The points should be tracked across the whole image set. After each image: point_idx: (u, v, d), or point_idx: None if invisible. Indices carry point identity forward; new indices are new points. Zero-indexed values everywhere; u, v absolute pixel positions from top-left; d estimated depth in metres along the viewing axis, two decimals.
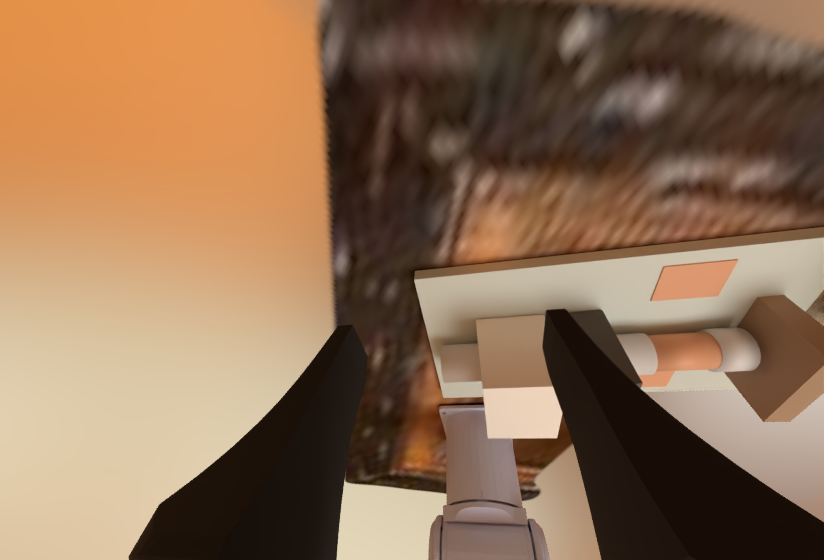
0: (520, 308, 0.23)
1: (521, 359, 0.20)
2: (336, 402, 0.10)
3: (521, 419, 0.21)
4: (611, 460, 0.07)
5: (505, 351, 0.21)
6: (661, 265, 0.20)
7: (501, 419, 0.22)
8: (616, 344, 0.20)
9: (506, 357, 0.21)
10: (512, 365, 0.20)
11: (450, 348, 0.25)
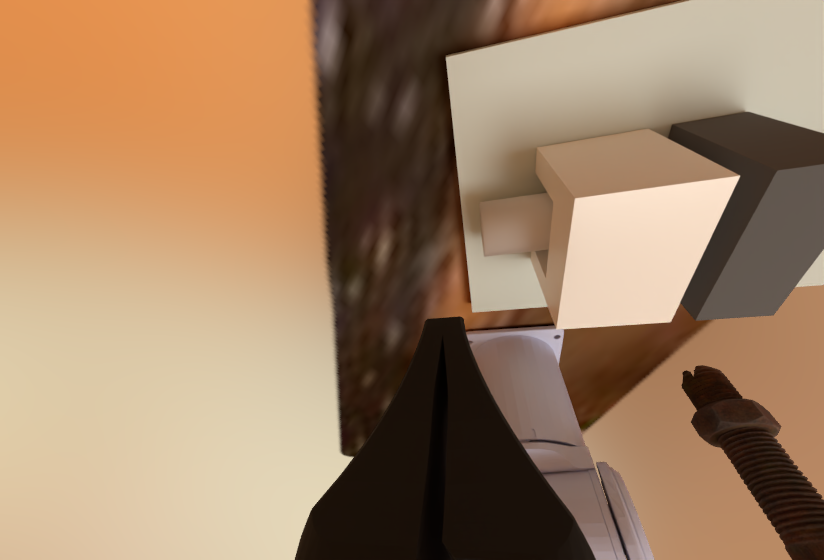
0: (611, 117, 0.14)
1: (632, 165, 0.12)
2: (441, 399, 0.10)
3: (623, 279, 0.13)
4: None
5: (600, 163, 0.13)
6: None
7: (590, 280, 0.13)
8: (801, 130, 0.11)
9: (604, 167, 0.12)
10: (619, 172, 0.12)
11: (495, 200, 0.16)
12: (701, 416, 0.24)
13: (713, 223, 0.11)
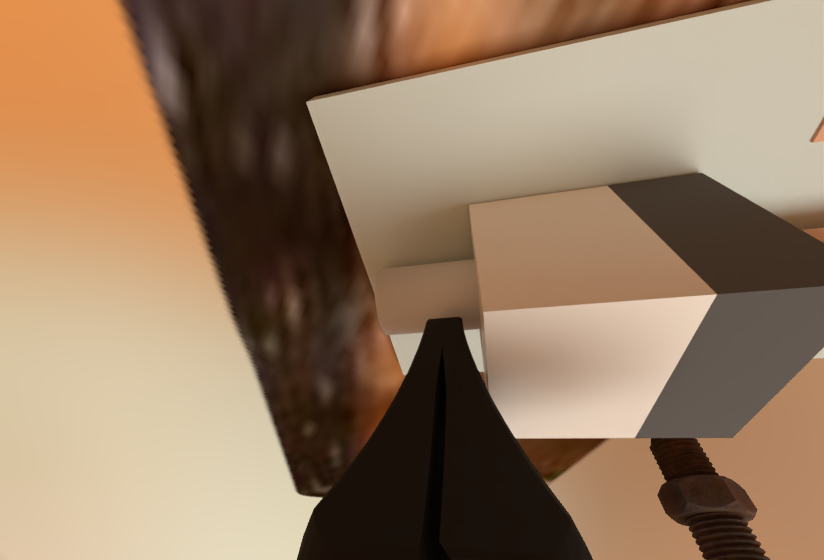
0: (529, 175, 0.11)
1: (573, 252, 0.09)
2: (443, 399, 0.10)
3: (568, 396, 0.10)
4: None
5: (535, 243, 0.09)
6: None
7: (524, 396, 0.10)
8: (762, 215, 0.08)
9: (537, 252, 0.09)
10: (553, 264, 0.08)
11: (396, 269, 0.13)
12: (668, 491, 0.21)
13: (682, 345, 0.08)
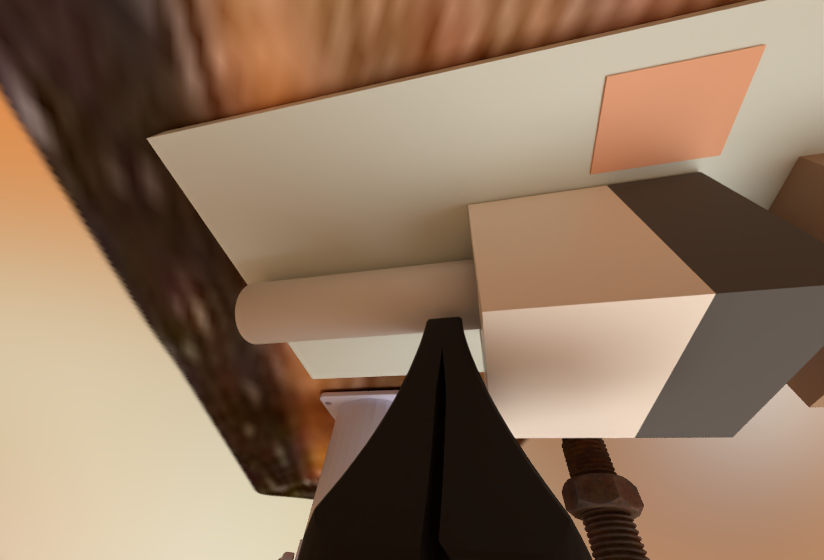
0: (360, 201, 0.13)
1: (572, 252, 0.09)
2: (443, 399, 0.10)
3: (567, 396, 0.10)
4: None
5: (533, 243, 0.09)
6: (600, 72, 0.09)
7: (523, 395, 0.10)
8: (761, 215, 0.08)
9: (536, 252, 0.09)
10: (552, 264, 0.08)
11: (261, 284, 0.14)
12: (568, 489, 0.22)
13: (681, 344, 0.08)
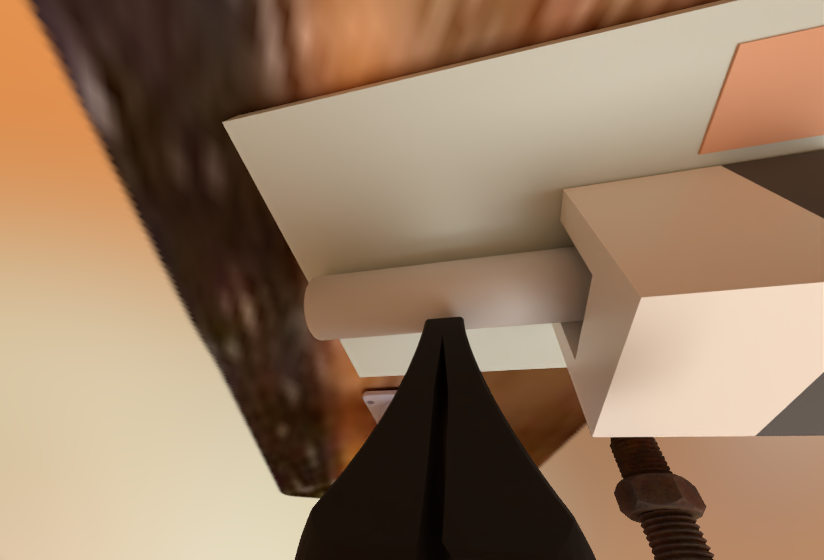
0: (441, 187, 0.12)
1: (719, 233, 0.08)
2: (441, 399, 0.10)
3: (698, 391, 0.09)
4: None
5: (665, 225, 0.09)
6: (732, 39, 0.09)
7: (648, 391, 0.09)
8: None
9: (673, 234, 0.08)
10: (701, 246, 0.08)
11: (328, 277, 0.14)
12: (622, 489, 0.22)
13: None
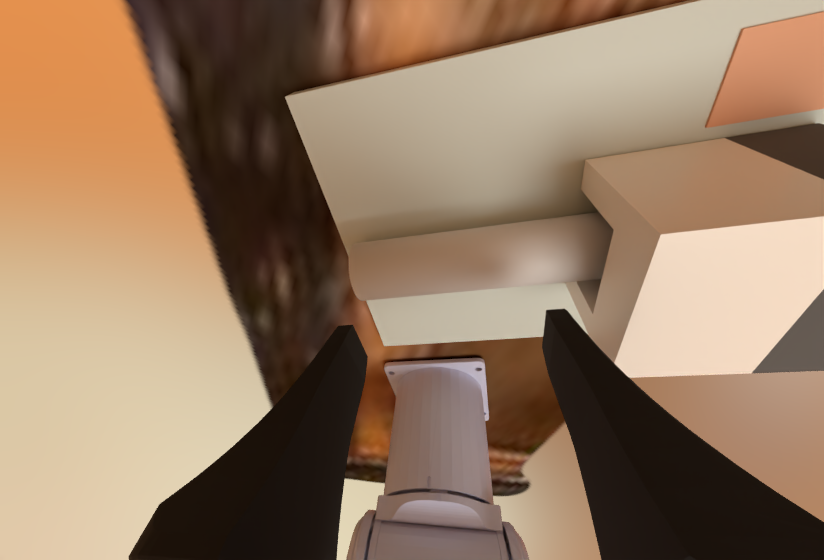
0: (476, 158, 0.13)
1: (724, 188, 0.09)
2: (336, 402, 0.10)
3: (703, 327, 0.10)
4: (611, 460, 0.07)
5: (678, 183, 0.10)
6: (737, 24, 0.10)
7: (661, 328, 0.11)
8: None
9: (685, 189, 0.10)
10: (709, 197, 0.09)
11: (368, 242, 0.15)
12: None
13: None
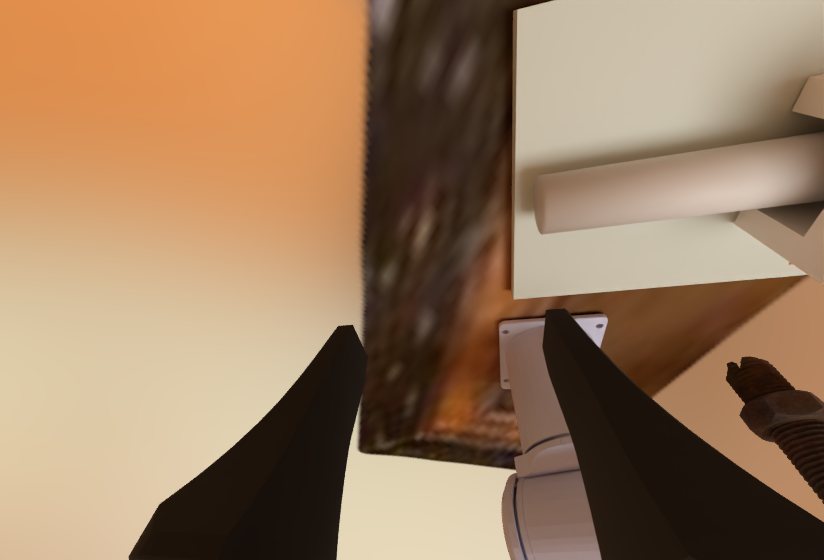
0: (692, 78, 0.13)
1: None
2: (336, 402, 0.10)
3: None
4: (611, 460, 0.07)
5: None
6: None
7: None
8: None
9: None
10: None
11: (557, 173, 0.15)
12: (752, 409, 0.23)
13: None
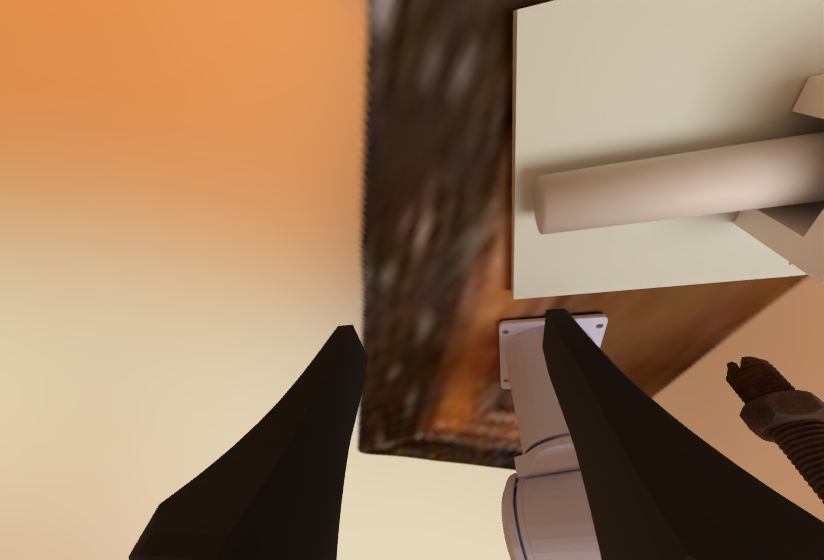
0: (692, 78, 0.13)
1: None
2: (336, 402, 0.10)
3: None
4: (611, 460, 0.07)
5: None
6: None
7: None
8: None
9: None
10: None
11: (557, 173, 0.15)
12: (752, 409, 0.23)
13: None
